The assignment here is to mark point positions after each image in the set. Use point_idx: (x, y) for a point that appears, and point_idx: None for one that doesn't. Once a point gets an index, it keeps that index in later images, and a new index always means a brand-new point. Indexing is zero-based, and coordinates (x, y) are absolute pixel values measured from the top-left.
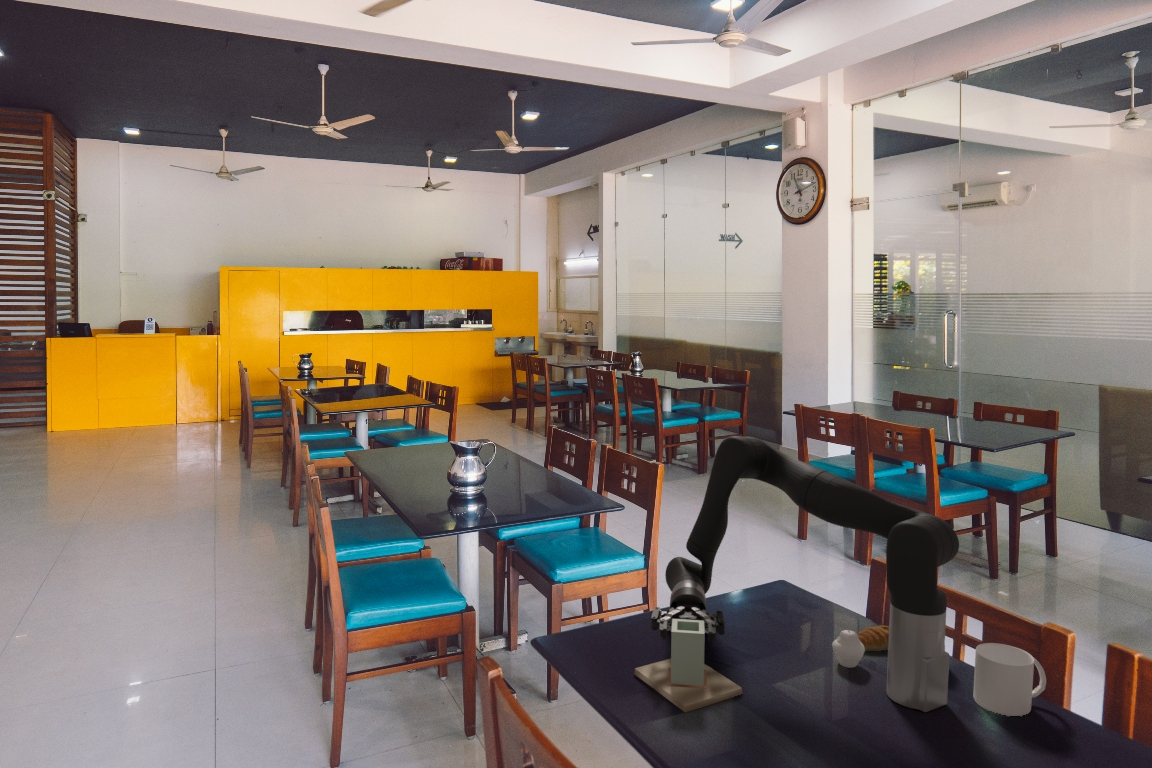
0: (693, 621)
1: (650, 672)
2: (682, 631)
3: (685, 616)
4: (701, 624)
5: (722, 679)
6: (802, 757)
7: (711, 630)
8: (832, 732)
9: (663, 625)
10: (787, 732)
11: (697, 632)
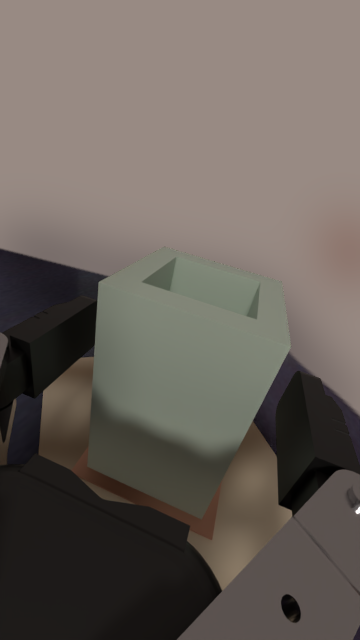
0: (165, 293)
1: (283, 513)
2: (240, 271)
3: (116, 532)
4: (139, 270)
5: (61, 405)
6: (93, 273)
7: (76, 300)
8: (8, 276)
9: (327, 405)
10: (69, 292)
11: (185, 255)
